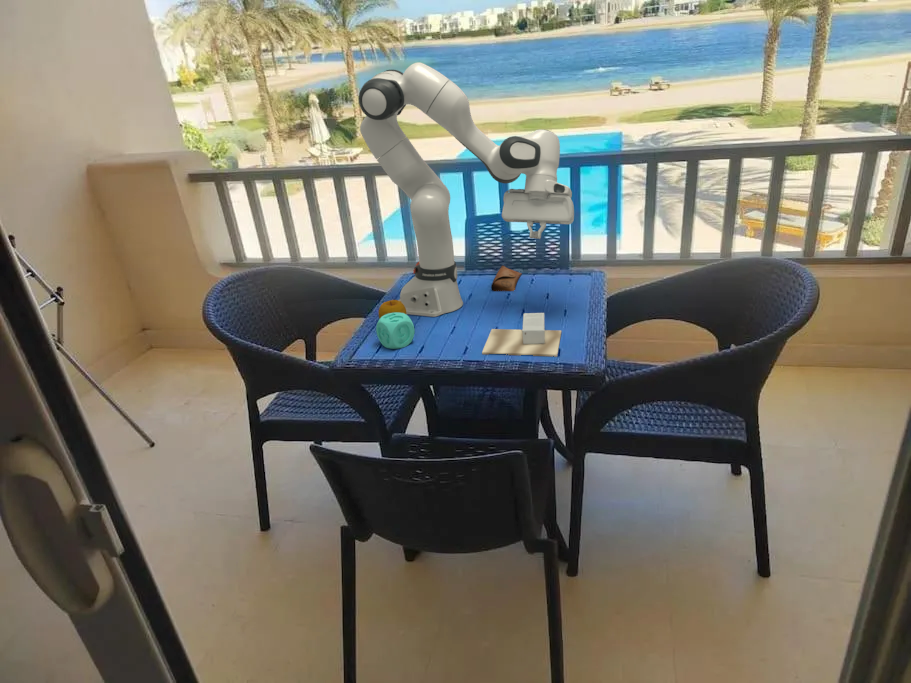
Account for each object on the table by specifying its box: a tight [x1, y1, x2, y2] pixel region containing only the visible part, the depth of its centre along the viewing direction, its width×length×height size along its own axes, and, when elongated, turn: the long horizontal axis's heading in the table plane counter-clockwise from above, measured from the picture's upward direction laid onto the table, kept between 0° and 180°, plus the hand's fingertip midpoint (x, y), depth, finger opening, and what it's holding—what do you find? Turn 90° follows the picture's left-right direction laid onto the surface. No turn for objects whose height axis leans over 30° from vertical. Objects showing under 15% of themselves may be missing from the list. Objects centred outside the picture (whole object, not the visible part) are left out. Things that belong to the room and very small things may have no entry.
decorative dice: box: [375, 312, 416, 350], centre depth 174 cm, size 8×8×8 cm
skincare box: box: [521, 312, 546, 344], centre depth 171 cm, size 6×4×12 cm
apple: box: [377, 299, 407, 320], centre depth 184 cm, size 9×8×9 cm
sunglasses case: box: [490, 265, 523, 292], centre depth 213 cm, size 18×7×7 cm
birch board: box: [481, 328, 562, 358], centre depth 169 cm, size 20×15×1 cm
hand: (534, 238), depth 173 cm, fingers closed
